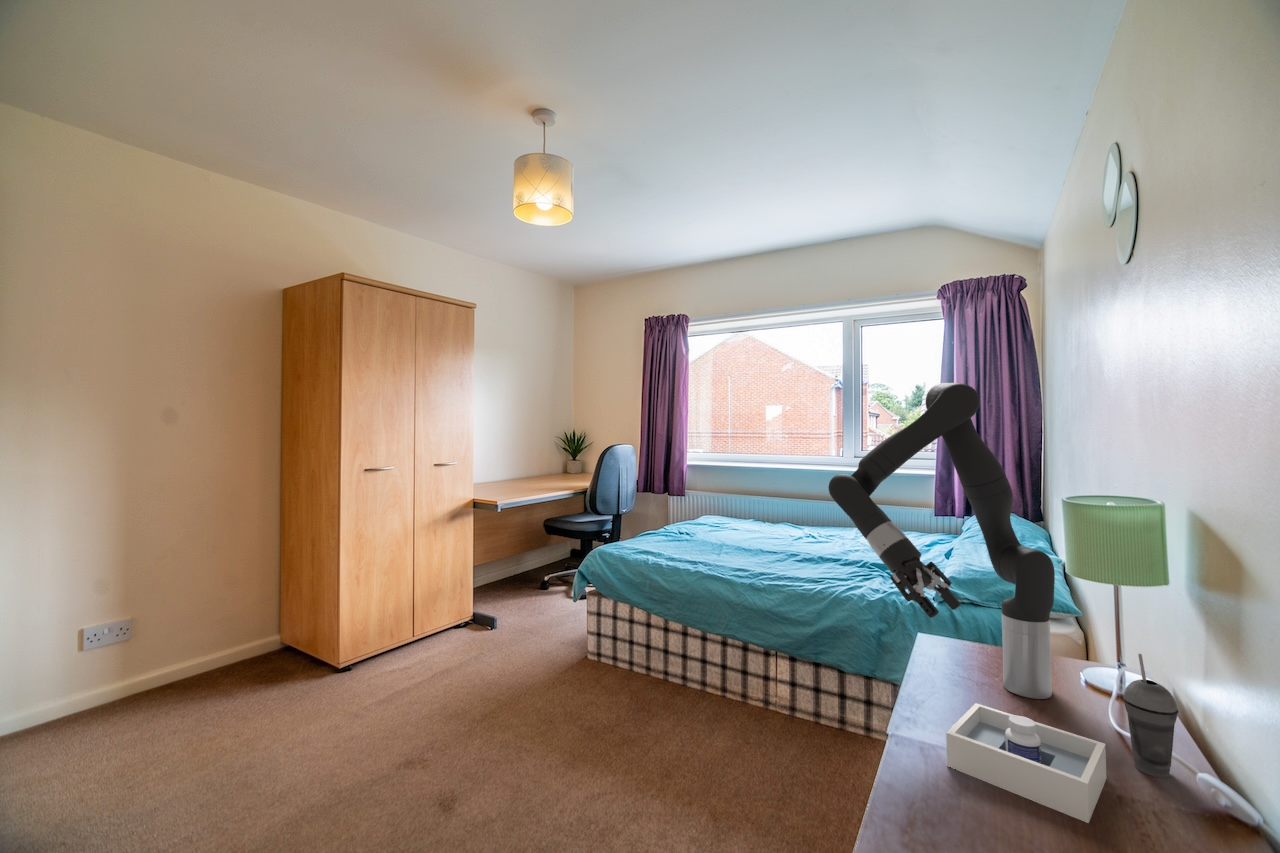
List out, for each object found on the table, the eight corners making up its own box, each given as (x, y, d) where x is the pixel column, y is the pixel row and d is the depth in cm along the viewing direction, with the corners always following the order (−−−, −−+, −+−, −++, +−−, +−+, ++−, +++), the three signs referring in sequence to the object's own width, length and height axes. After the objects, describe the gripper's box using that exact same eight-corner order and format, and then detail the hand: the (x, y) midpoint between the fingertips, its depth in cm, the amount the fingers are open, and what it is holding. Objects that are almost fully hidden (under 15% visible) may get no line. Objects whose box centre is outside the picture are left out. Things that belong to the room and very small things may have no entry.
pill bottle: (1048, 782, 94) (1046, 729, 94) (1014, 779, 95) (1012, 727, 95) (1032, 764, 99) (1030, 714, 99) (1000, 761, 100) (998, 712, 100)
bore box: (976, 733, 110) (975, 703, 110) (1106, 778, 95) (1105, 743, 95) (947, 766, 99) (946, 732, 99) (1088, 823, 84) (1087, 783, 84)
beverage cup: (1169, 787, 92) (1166, 668, 93) (1116, 765, 99) (1113, 653, 99) (1188, 775, 96) (1184, 659, 96) (1135, 753, 102) (1132, 645, 102)
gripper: (884, 540, 117) (940, 608, 107) (921, 533, 124) (977, 595, 115) (863, 561, 121) (915, 628, 111) (900, 552, 129) (952, 614, 119)
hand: (946, 611), depth 113 cm, fingers open, 8 cm apart
